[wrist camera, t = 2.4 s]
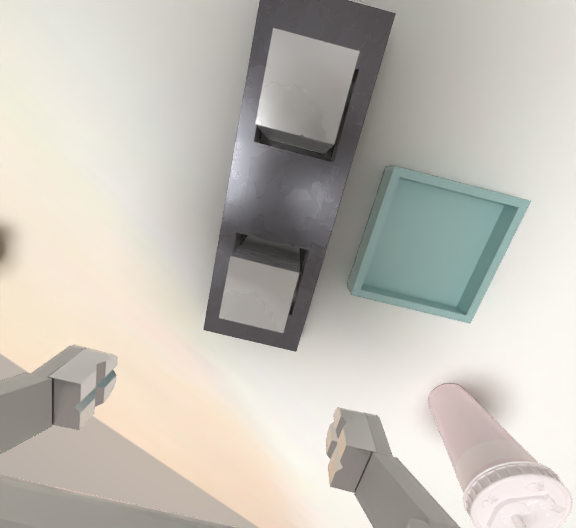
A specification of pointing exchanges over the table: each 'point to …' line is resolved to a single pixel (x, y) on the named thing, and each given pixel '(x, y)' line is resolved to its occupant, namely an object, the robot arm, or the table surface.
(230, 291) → the pale grey matte cube
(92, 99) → the table surface
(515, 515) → the smoothie
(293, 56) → the white glossy cube
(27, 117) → the table surface
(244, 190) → the rack rail
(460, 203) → the tray
